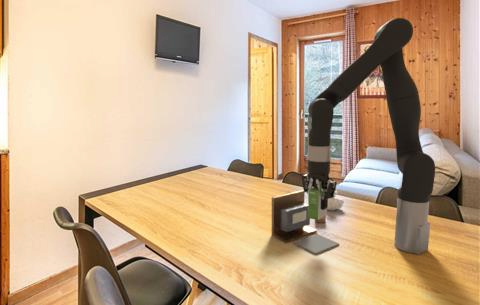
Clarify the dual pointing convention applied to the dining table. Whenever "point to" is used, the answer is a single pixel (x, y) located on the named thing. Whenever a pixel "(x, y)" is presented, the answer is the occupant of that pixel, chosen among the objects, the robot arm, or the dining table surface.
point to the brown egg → (321, 220)
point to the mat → (316, 244)
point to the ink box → (315, 204)
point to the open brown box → (290, 217)
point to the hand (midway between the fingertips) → (317, 206)
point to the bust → (334, 203)
